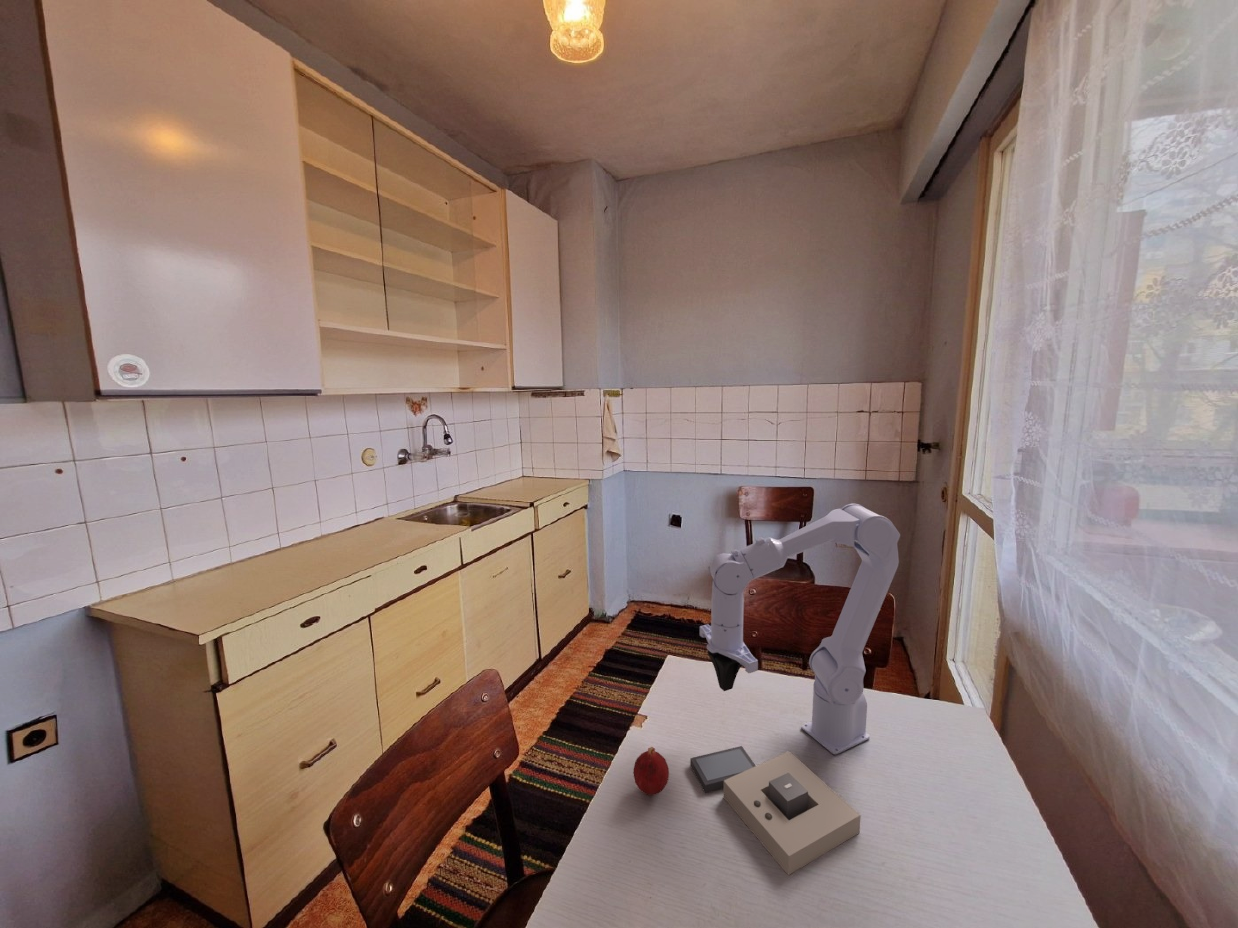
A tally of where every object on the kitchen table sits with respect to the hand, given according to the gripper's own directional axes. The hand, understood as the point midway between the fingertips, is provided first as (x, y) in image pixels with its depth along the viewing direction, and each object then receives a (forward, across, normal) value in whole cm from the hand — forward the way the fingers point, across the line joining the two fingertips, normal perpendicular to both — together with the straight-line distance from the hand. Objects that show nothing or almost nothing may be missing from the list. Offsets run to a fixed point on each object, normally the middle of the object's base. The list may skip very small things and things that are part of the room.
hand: (726, 687), depth 89 cm
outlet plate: (+10, +18, -2) cm, 21 cm away
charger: (+10, +18, -2) cm, 21 cm away
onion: (+10, +5, -19) cm, 22 cm away
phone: (+10, +7, -6) cm, 14 cm away
